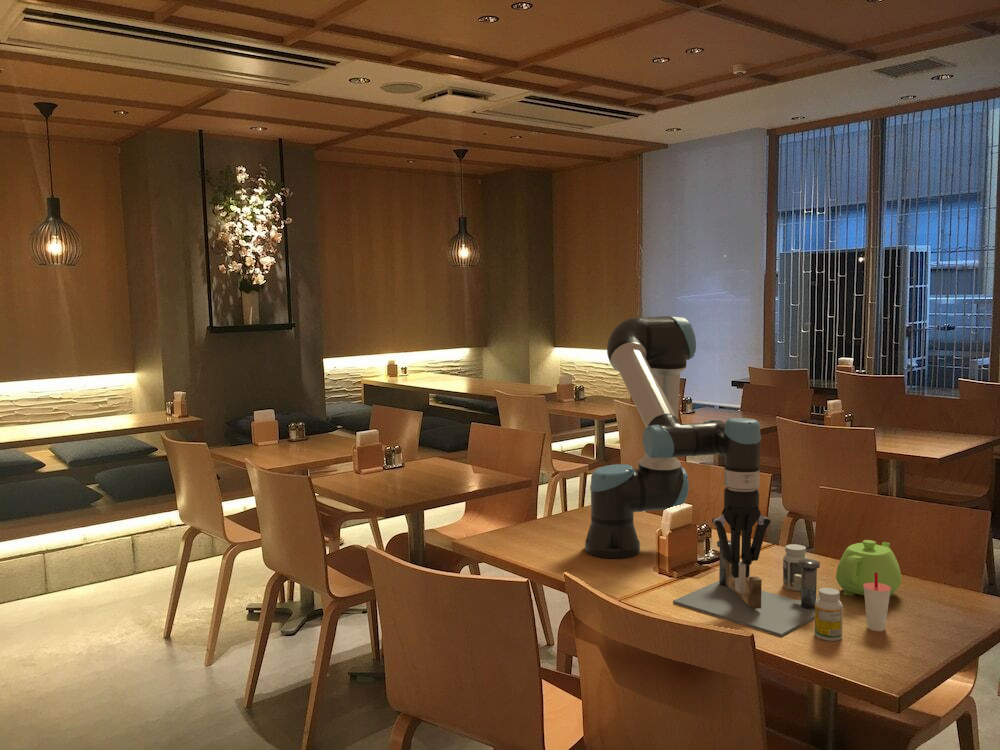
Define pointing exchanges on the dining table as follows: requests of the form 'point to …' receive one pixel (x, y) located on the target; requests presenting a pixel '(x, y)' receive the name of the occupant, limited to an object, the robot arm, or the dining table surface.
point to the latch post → (807, 582)
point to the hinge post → (722, 565)
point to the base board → (749, 609)
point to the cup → (876, 604)
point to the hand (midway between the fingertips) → (740, 590)
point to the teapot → (868, 567)
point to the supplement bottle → (828, 615)
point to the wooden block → (746, 588)
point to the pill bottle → (792, 564)
